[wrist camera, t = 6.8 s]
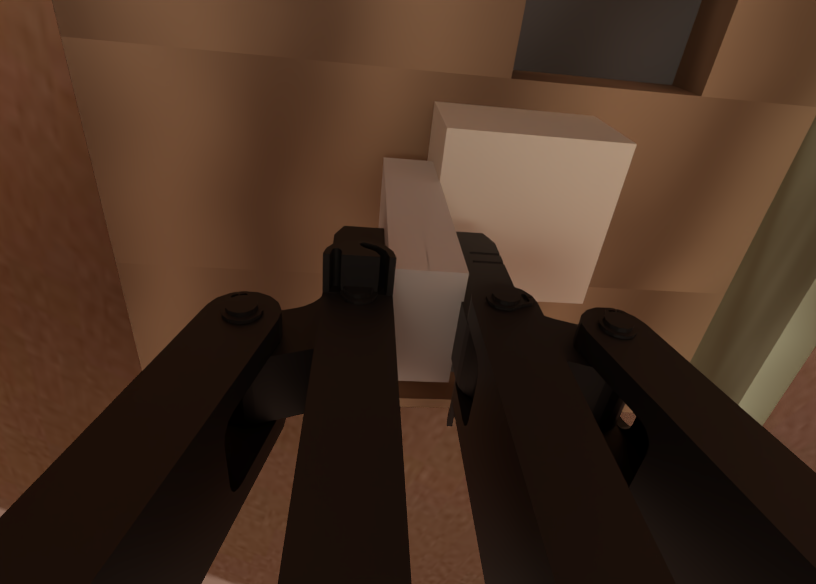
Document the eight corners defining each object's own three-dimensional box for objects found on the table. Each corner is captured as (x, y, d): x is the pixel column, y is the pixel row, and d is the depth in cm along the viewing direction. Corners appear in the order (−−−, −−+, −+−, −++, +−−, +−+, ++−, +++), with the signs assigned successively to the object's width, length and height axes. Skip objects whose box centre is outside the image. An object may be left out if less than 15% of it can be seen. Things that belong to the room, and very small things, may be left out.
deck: (165, 368, 22) (118, 459, 18) (29, -281, 12) (-159, -418, 8) (672, 384, 25) (733, 468, 21) (937, -142, 14) (1172, -189, 10)
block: (416, 249, 18) (424, 295, 15) (434, 101, 15) (447, 128, 13) (553, 257, 18) (582, 303, 16) (594, 115, 16) (636, 143, 13)
